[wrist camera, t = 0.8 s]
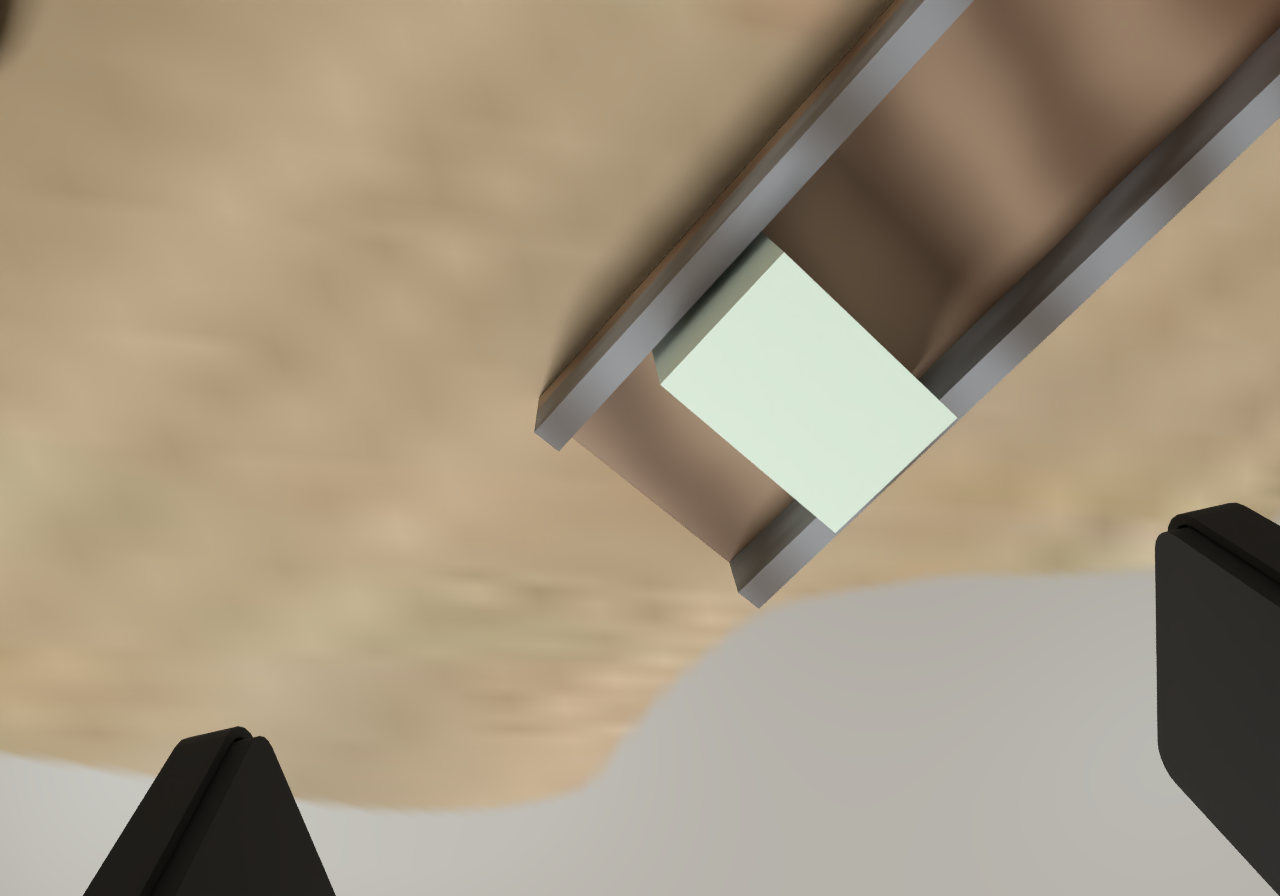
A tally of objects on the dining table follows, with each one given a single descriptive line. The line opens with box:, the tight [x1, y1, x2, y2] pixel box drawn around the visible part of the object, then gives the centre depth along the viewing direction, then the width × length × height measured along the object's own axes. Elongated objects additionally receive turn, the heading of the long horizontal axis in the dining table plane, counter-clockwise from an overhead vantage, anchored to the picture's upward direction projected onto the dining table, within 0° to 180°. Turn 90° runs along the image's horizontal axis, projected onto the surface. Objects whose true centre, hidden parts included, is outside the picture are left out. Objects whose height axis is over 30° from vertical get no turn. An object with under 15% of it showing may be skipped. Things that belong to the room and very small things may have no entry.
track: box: [534, 0, 1280, 608], centre depth 33 cm, size 32×12×6 cm, turn 138°
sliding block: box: [652, 232, 957, 533], centre depth 34 cm, size 6×9×5 cm
